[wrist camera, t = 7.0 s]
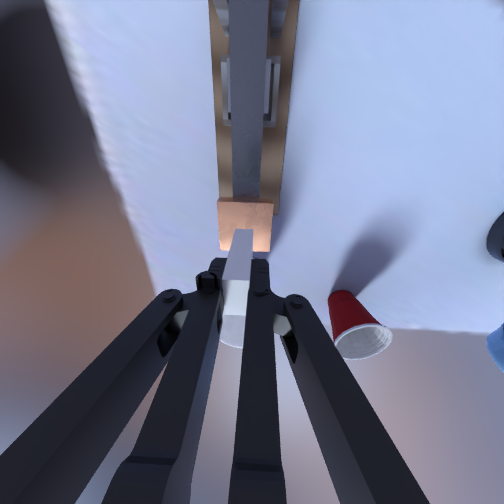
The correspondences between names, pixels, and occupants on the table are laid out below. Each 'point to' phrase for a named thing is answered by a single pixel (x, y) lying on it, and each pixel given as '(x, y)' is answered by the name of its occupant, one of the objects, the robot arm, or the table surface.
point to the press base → (282, 107)
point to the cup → (233, 330)
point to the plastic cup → (355, 328)
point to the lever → (247, 123)
